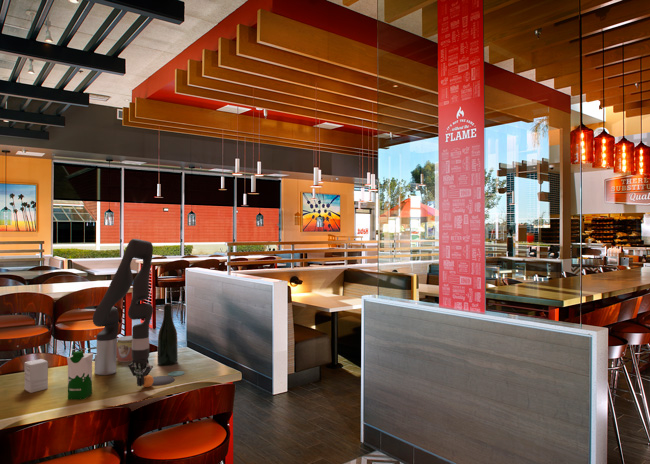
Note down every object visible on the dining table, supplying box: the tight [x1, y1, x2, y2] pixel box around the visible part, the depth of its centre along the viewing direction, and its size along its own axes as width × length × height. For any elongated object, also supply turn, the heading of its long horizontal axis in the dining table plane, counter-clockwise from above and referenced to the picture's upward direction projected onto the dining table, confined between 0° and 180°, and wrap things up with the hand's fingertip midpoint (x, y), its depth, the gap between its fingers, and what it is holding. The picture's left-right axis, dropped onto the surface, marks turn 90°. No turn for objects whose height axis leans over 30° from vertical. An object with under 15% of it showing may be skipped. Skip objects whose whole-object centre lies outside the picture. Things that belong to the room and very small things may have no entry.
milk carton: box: [66, 350, 94, 400], centre depth 197 cm, size 9×9×20 cm
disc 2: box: [167, 370, 185, 377], centre depth 230 cm, size 8×8×1 cm
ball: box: [141, 374, 154, 388], centre depth 210 cm, size 6×6×6 cm
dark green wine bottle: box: [157, 302, 179, 366], centre depth 248 cm, size 10×10×33 cm
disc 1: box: [150, 375, 176, 387], centre depth 219 cm, size 14×14×1 cm
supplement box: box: [24, 358, 49, 394], centre depth 207 cm, size 7×7×13 cm
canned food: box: [117, 335, 133, 363], centre depth 256 cm, size 11×11×12 cm
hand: (140, 385), depth 207 cm, fingers closed
